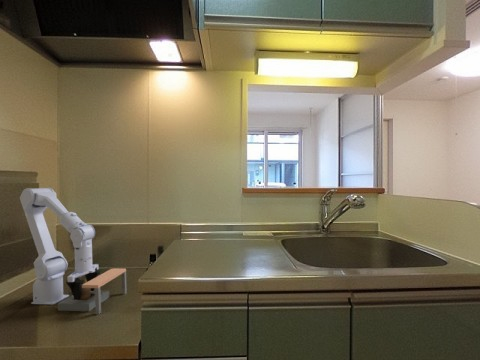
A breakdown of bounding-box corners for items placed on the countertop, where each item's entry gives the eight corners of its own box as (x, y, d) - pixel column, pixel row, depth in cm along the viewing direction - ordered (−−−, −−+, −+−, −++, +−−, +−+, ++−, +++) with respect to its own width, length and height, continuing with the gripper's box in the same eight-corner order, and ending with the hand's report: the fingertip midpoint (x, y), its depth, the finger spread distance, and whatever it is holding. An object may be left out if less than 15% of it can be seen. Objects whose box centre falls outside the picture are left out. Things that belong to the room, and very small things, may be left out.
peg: (76, 306, 103) (75, 286, 103) (83, 301, 107) (82, 282, 107) (86, 306, 102) (86, 286, 102) (93, 301, 106) (92, 282, 106)
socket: (57, 310, 99) (57, 303, 99) (81, 296, 111) (80, 290, 111) (89, 311, 98) (89, 304, 98) (109, 297, 110) (109, 290, 110)
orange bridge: (82, 314, 96) (81, 284, 96) (112, 293, 114) (112, 268, 114) (99, 314, 95) (98, 285, 95) (126, 293, 113) (126, 268, 113)
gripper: (80, 264, 97) (81, 303, 97) (105, 253, 111) (106, 287, 111) (61, 263, 98) (62, 302, 98) (88, 253, 112) (89, 287, 112)
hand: (84, 294), depth 104 cm, fingers open, 7 cm apart
